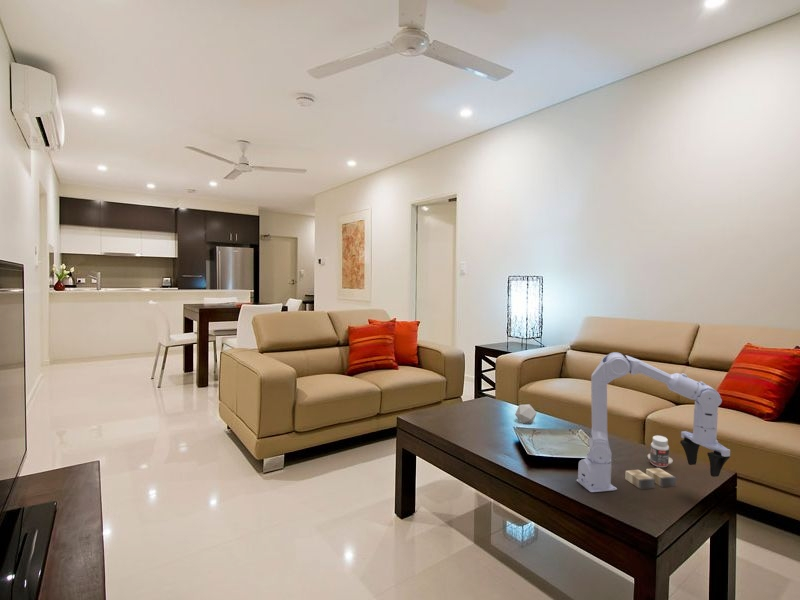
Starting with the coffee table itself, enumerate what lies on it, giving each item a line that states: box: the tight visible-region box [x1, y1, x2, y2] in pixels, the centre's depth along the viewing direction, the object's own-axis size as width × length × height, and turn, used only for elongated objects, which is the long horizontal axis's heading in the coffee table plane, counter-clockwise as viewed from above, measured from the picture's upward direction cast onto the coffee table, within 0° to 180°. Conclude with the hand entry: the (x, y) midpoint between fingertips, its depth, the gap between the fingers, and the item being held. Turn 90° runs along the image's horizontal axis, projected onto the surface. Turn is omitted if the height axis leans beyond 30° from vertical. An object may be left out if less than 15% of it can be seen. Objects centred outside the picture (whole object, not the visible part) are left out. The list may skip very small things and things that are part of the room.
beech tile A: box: [624, 469, 655, 490], centre depth 137 cm, size 5×3×7 cm
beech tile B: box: [645, 467, 677, 488], centre depth 138 cm, size 5×3×7 cm
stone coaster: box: [647, 453, 673, 465], centre depth 155 cm, size 8×8×1 cm
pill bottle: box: [649, 435, 670, 468], centre depth 150 cm, size 6×6×10 cm
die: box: [514, 403, 538, 424], centre depth 195 cm, size 8×9×10 cm
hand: (703, 470), depth 124 cm, fingers open, 7 cm apart
